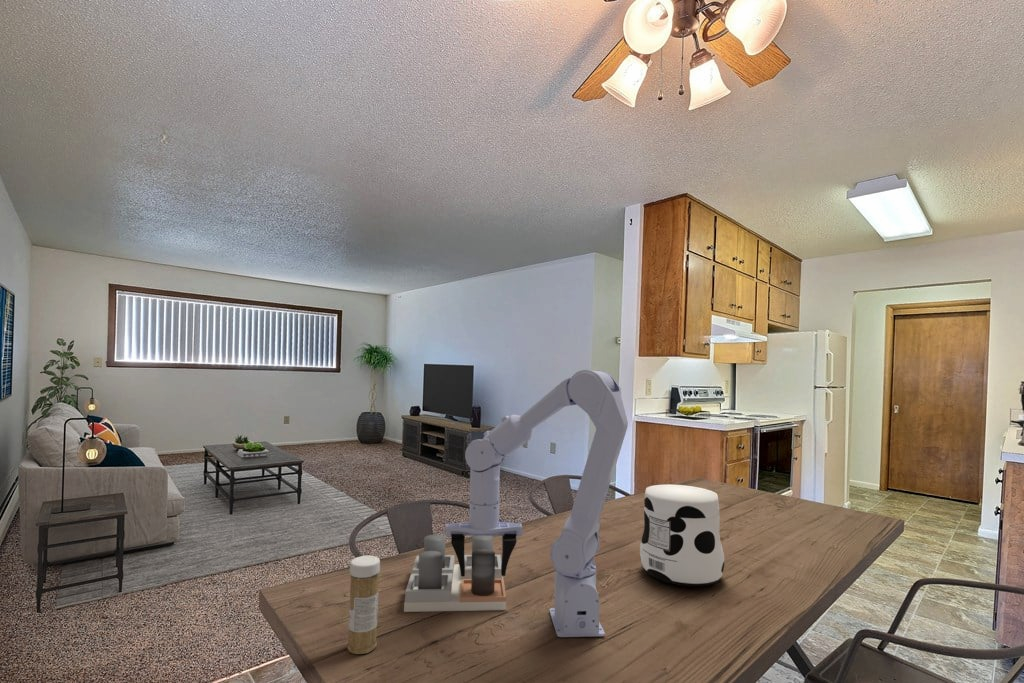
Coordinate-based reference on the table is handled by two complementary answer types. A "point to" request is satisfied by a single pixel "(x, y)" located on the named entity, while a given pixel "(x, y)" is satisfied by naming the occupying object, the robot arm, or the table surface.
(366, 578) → the sprinkles bottle
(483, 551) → the dark gray cylinder
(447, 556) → the white cylinder holder tray
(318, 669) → the table surface
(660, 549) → the milk container
